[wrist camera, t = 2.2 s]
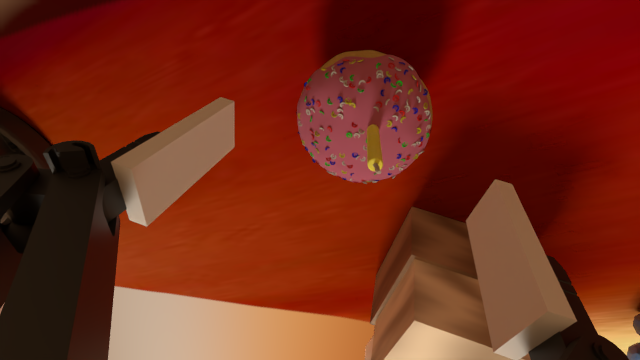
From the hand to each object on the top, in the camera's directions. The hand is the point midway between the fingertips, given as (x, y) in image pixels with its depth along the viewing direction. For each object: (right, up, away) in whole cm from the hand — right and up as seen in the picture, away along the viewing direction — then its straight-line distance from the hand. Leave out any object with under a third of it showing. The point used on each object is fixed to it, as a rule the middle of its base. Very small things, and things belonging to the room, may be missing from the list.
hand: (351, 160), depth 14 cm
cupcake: (+2, +5, +7) cm, 9 cm away
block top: (+9, -12, +10) cm, 18 cm away
